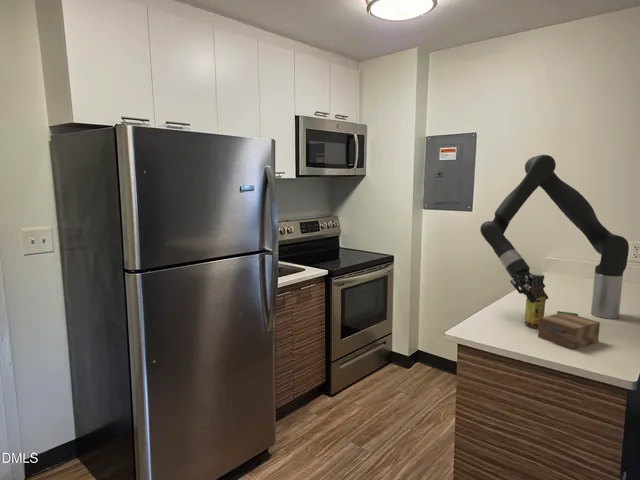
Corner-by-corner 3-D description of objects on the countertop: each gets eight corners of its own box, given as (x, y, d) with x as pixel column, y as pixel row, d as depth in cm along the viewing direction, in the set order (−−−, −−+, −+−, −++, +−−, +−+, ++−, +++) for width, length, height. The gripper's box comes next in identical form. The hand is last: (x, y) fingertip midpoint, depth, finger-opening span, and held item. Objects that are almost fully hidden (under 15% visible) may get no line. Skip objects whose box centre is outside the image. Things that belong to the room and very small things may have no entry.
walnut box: (562, 330, 146) (564, 312, 145) (598, 342, 135) (599, 322, 134) (536, 337, 139) (538, 318, 138) (571, 350, 128) (573, 329, 127)
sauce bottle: (536, 330, 146) (539, 277, 143) (520, 324, 152) (524, 273, 149) (547, 327, 149) (551, 275, 146) (531, 321, 155) (535, 271, 152)
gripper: (507, 259, 150) (534, 298, 142) (532, 256, 157) (560, 293, 148) (495, 270, 156) (520, 308, 147) (519, 267, 162) (545, 303, 153)
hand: (540, 300), depth 147 cm, fingers closed on sauce bottle, 6 cm apart
